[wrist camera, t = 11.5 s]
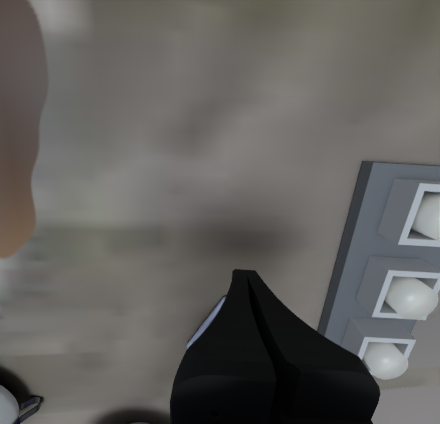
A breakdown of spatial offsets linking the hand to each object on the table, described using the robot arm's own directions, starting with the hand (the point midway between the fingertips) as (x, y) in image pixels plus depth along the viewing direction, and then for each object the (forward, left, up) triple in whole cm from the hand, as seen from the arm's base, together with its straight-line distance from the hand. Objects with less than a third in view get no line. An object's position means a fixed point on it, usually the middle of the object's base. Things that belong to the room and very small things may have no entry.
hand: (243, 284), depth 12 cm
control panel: (+4, -17, -10) cm, 20 cm away
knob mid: (+4, -17, -8) cm, 19 cm away
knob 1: (-3, -21, -8) cm, 23 cm away
